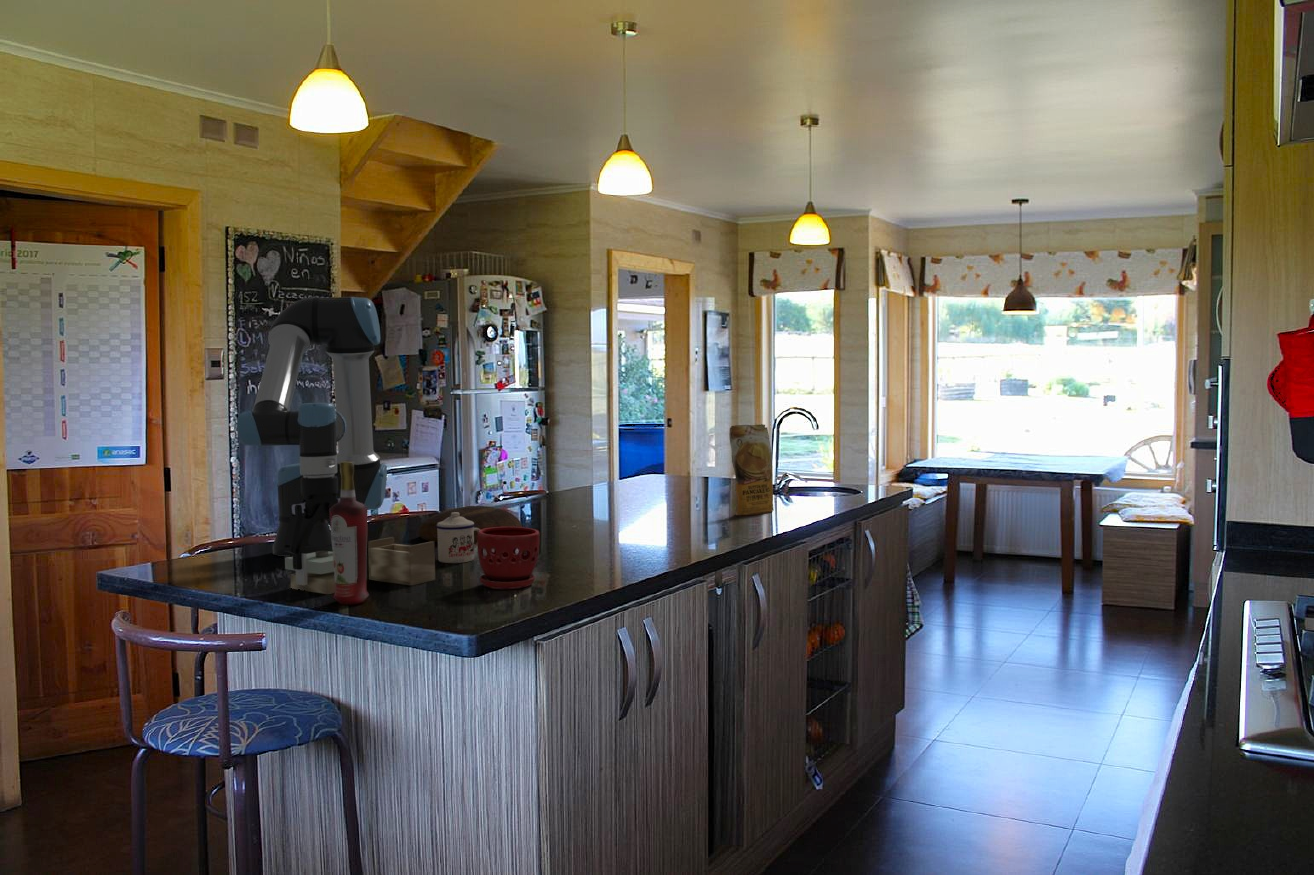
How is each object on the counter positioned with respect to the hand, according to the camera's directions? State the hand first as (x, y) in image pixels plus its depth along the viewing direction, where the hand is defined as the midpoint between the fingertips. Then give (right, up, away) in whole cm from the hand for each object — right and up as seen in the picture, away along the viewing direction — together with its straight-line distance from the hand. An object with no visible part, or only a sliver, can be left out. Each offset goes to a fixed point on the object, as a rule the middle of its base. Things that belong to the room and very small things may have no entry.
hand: (322, 580), depth 222 cm
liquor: (+10, -3, -14) cm, 17 cm away
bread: (+20, +2, +67) cm, 70 cm away
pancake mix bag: (+101, +6, +108) cm, 148 cm away
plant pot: (+40, -2, +1) cm, 40 cm away
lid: (0, +3, 0) cm, 3 cm away
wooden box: (+15, -1, +8) cm, 17 cm away
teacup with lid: (+23, 0, +32) cm, 40 cm away
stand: (0, -2, 0) cm, 2 cm away
